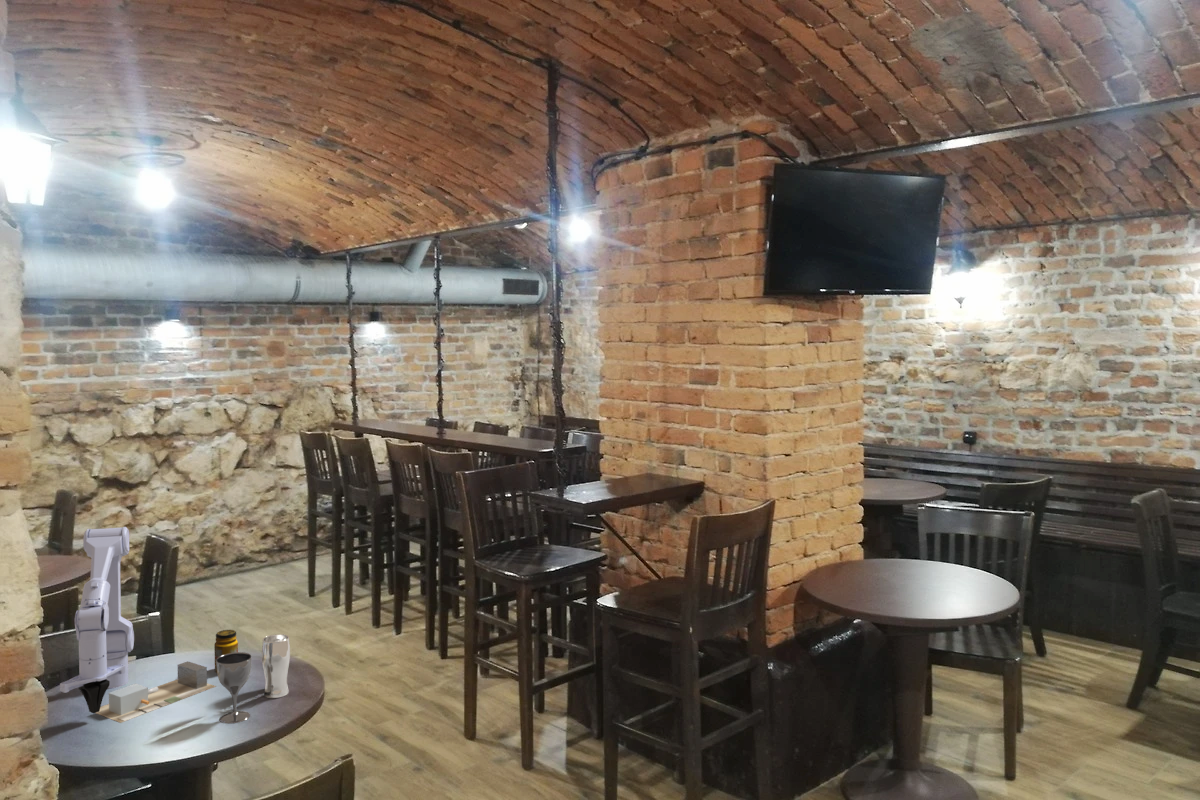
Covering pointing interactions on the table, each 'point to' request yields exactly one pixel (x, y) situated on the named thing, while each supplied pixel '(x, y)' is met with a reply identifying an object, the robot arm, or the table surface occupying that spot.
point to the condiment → (225, 644)
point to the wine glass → (234, 681)
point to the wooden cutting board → (156, 700)
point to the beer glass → (276, 664)
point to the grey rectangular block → (192, 675)
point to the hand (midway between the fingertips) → (94, 711)
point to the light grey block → (129, 698)
